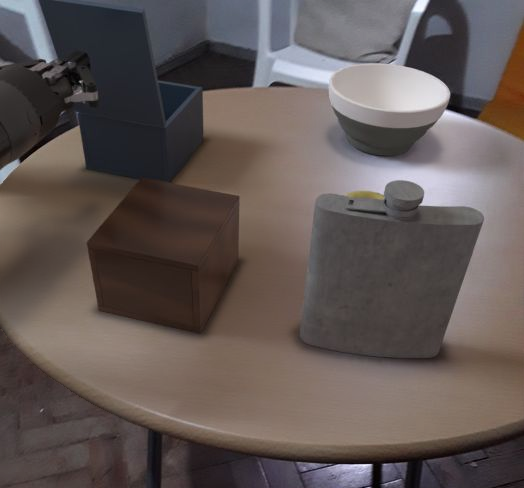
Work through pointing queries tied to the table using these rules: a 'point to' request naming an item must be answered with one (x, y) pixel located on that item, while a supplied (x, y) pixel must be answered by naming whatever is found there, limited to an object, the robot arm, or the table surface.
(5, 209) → the table surface
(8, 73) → the robot arm
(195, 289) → the cabinet
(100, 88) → the lid
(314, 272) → the hip flask
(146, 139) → the chest
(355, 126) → the bowl
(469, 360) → the table surface
